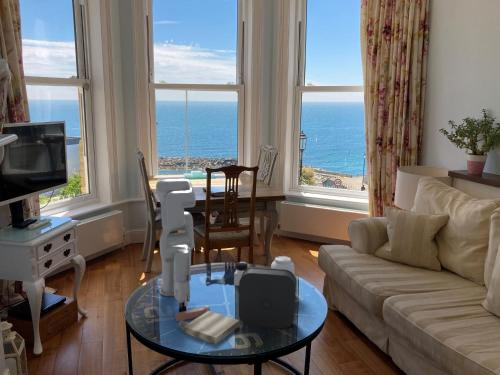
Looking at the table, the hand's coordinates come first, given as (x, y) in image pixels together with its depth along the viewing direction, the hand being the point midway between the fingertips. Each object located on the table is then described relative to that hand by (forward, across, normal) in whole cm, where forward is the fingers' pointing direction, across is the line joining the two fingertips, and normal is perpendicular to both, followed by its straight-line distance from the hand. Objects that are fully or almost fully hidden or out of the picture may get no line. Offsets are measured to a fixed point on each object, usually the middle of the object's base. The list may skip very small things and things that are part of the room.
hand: (182, 313), depth 204 cm
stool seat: (+1, +16, +7) cm, 17 cm away
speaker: (+2, +23, +32) cm, 39 cm away
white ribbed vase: (+2, -3, +55) cm, 55 cm away
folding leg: (+1, +3, +4) cm, 5 cm away
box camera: (+2, -24, +42) cm, 48 cm away
